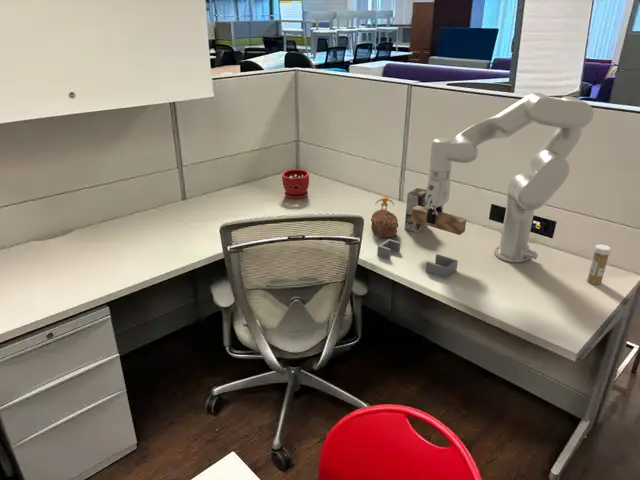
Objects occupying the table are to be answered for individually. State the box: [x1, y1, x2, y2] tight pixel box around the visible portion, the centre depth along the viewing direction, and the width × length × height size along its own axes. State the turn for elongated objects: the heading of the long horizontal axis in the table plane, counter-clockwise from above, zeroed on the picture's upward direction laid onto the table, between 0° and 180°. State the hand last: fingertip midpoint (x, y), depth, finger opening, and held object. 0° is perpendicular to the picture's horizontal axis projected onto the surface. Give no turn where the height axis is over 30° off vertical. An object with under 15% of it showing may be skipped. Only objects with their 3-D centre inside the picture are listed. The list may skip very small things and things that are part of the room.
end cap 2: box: [425, 254, 459, 280], centre depth 174 cm, size 8×8×4 cm
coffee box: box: [404, 187, 427, 233], centre depth 206 cm, size 9×6×16 cm
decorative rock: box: [370, 208, 399, 238], centre depth 202 cm, size 13×11×10 cm
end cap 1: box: [376, 238, 401, 260], centre depth 187 cm, size 5×8×4 cm, turn 141°
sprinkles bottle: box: [586, 243, 612, 286], centre depth 165 cm, size 5×5×14 cm
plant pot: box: [281, 169, 310, 200], centre depth 241 cm, size 13×13×12 cm
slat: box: [411, 205, 467, 236], centre depth 181 cm, size 20×4×5 cm, turn 50°
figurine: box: [374, 194, 395, 210], centre depth 214 cm, size 8×6×12 cm
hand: (433, 220), depth 182 cm, fingers closed on slat, 4 cm apart
